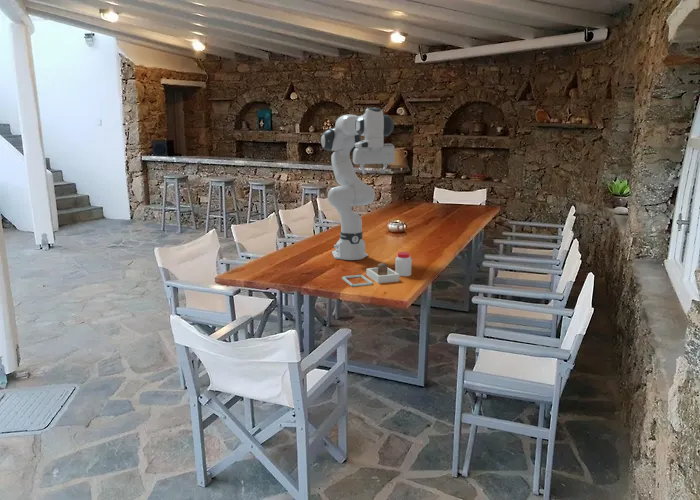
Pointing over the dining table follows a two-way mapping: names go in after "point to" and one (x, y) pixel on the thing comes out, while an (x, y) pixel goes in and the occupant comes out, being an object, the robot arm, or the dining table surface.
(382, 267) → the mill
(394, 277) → the white storage bin
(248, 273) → the dining table surface
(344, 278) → the tray
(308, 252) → the dining table surface
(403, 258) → the pill bottle
